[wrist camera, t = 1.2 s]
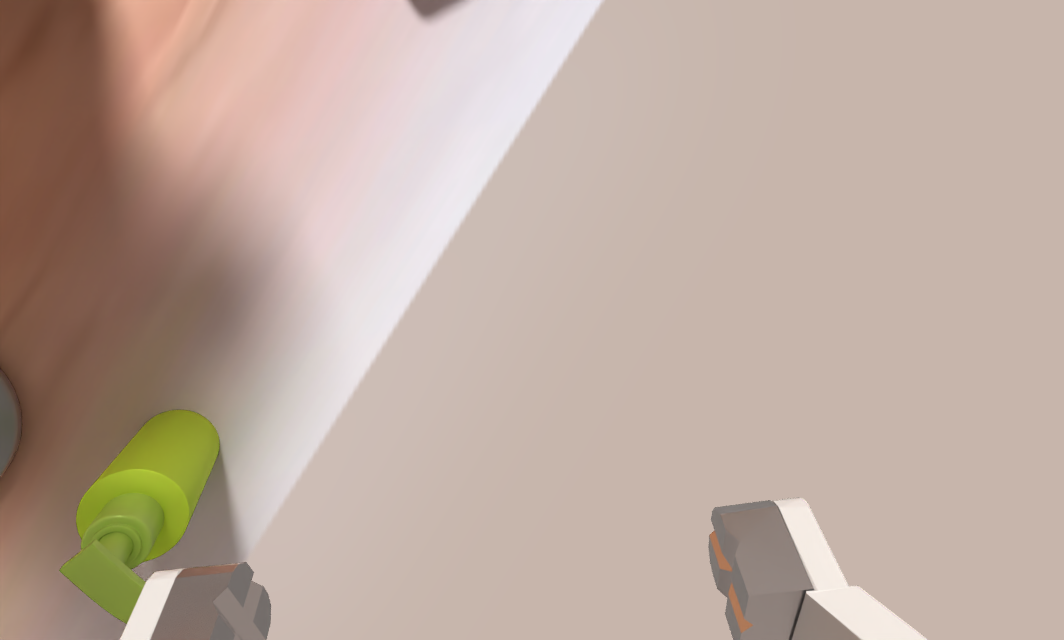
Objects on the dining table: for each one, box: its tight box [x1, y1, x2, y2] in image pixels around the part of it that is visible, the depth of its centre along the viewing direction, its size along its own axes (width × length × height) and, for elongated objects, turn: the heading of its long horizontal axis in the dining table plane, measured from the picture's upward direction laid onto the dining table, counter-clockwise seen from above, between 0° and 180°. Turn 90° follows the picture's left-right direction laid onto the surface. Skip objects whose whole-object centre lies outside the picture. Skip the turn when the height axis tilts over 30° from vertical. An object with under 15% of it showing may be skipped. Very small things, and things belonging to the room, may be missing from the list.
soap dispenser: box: [59, 410, 220, 624], centre depth 41 cm, size 6×7×20 cm
